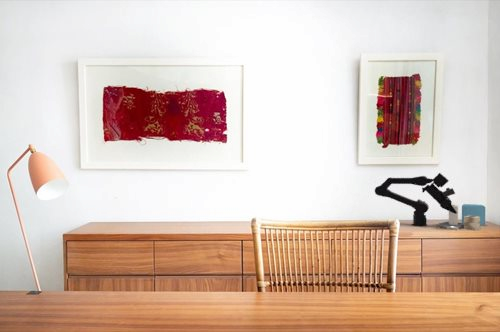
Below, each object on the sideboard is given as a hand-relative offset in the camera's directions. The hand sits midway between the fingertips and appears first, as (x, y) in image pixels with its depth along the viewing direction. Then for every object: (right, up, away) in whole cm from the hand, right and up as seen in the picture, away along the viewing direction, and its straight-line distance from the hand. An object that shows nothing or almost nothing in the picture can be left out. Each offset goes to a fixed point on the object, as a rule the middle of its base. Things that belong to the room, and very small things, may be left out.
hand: (455, 212), depth 244 cm
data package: (+15, -8, +10) cm, 20 cm away
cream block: (-1, -7, +1) cm, 7 cm away
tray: (-1, -8, +1) cm, 9 cm away
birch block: (+6, -9, -6) cm, 12 cm away
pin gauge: (-5, -7, -4) cm, 10 cm away
